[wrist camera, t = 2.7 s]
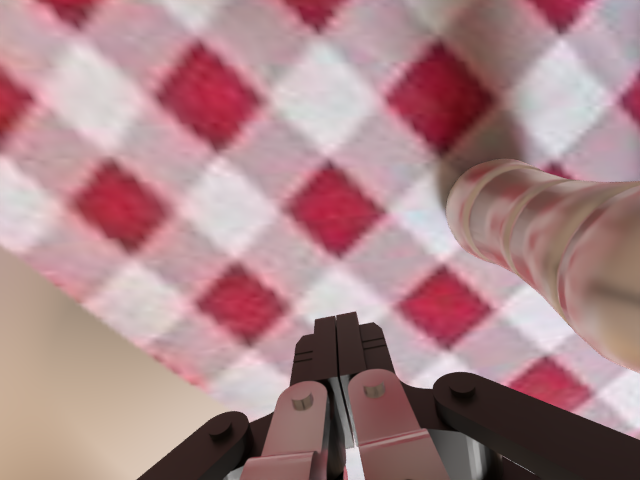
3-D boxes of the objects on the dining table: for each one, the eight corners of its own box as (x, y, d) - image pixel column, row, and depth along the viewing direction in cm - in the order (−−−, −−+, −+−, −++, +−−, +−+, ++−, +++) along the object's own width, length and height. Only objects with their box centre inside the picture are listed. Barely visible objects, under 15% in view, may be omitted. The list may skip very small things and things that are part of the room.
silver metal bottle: (524, 147, 25) (1222, 164, 5) (530, 240, 26) (1080, 501, 7) (431, 167, 25) (773, 247, 6) (443, 257, 27) (738, 546, 8)
